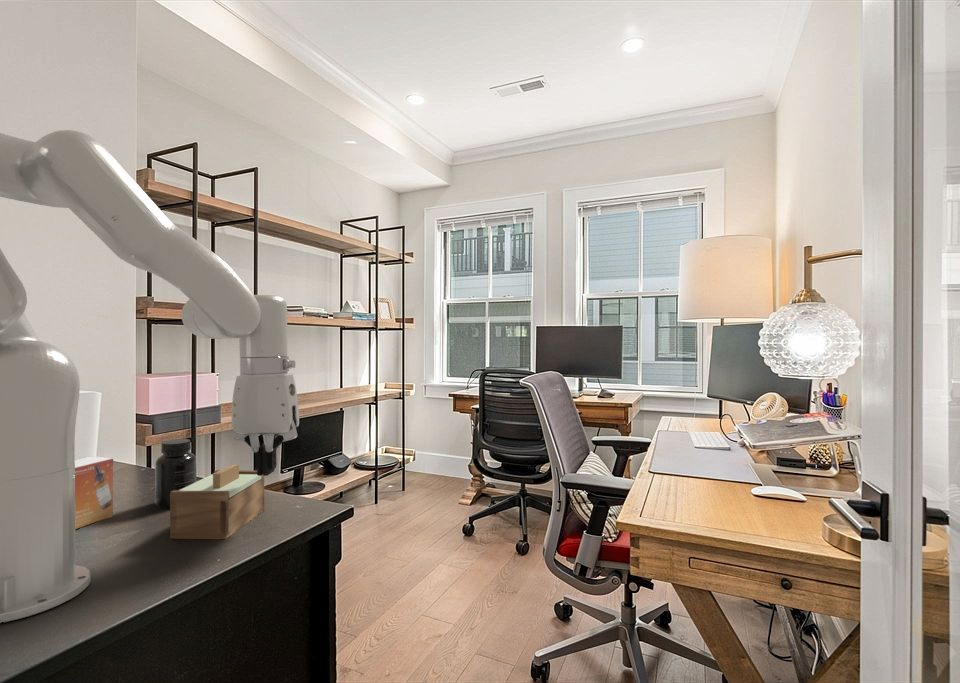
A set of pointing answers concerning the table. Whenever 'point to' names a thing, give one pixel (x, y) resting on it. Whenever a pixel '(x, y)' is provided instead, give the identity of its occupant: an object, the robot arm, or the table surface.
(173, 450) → the supplement bottle
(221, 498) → the brown wooden box
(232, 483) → the lid
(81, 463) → the small box
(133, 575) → the table surface
